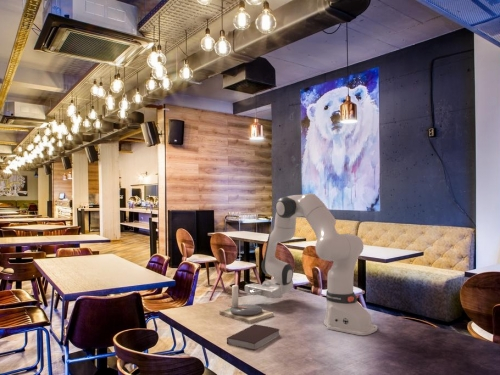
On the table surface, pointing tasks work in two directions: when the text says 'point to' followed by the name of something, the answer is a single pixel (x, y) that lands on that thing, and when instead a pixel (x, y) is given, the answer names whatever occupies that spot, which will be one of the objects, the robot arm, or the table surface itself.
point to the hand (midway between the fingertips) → (251, 293)
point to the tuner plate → (247, 316)
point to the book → (253, 337)
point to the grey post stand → (244, 308)
